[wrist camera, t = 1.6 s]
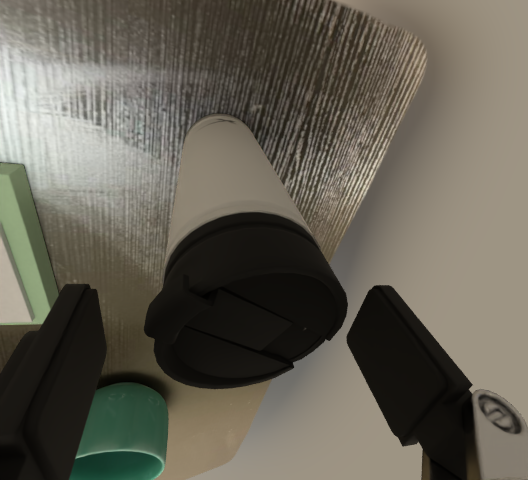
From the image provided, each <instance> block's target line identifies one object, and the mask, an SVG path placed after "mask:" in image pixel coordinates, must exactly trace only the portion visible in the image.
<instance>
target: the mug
mask: <svg viewBox="0 0 528 480" xmlns="http://www.w3.org/2000/svg"><path fill="white" fill-rule="evenodd" d="M167 439H168V409H167V405H166V403H165V401H164V399H163V397H162V396H161V395H160V394H159V393H158V392H156V391H155V390H153V389H151V388H149V387H147V386H144V385H142V384H139V383H134V382H122V383H116V384H112V385H109V386H106V387H103V388H100V389H98V390H96V391H95V395H94V398H93V401H92V405H91V408H90V411H89V415H88V418H87V421H86V425H85V428H84V431H83V435H82V438H81V441H80V445H79V448H78V452H77V455H76V458H75V462H74V465H73V468H72V472H71V475H70V478H69V480H154V479H155V478H157V477H158V476H159V475H160V474H161V473H162V471H163V470H164V468H165V462H166V451H167Z"/></svg>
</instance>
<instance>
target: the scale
mask: <svg viewBox="0 0 528 480" xmlns="http://www.w3.org/2000/svg"><path fill="white" fill-rule="evenodd" d="M58 296H59V293H58V289H57V285H56V282H55V278H54V274H53V271H52V267H51V263H50V260H49V256H48V253H47V249H46V245H45V242H44V238H43V234H42V231H41V227H40V223H39V220H38V216H37V213H36V209H35V205H34V202H33V198H32V194H31V191H30V187H29V184H28V180H27V176H26V173H25V169H24V166H23V165H19V164H8V163H0V325H19V324H43V322H44V321H45V319H46V317H47V315H48V313H49V312H50V310H51V308H52V306H53V305H54V303H55V301H56V299H57V297H58Z"/></svg>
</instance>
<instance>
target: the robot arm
mask: <svg viewBox="0 0 528 480" xmlns="http://www.w3.org/2000/svg"><path fill="white" fill-rule="evenodd" d="M347 344H348V346H349V348H350V350H351V352H352V354H353V356H354V358H355V360H356V362H357V364H358V366H359V368H360V370H361V372H362V374H363V376H364V378H365V380H366V382H367V384H368V386H369V388H370V390H371V392H372V393H373V396H374V397H375V399H376V401H377V403H378V405H379V407H380V409H381V411H382V413H383V415H384V417H385V419H386V421H387V423H388V425H389V427H390V429H391V431H392V432H393V434H394V435H395V436H397V437H398V438H399V440H400V442H401V444H402V446H408V445H414V444H417V443H418V442H419V443H420V445H421V446H422V448H423V456H422V479H421V480H528V427H527V425H526V422H525V420H524V419H523V417H522V416H521V414H520V413H519V412H518V411H517V410H516V409H515V407H514V406H513V405H512V404H510V403H509V402H508V401H507V400H505V399H504V398H502V397H501V396H499V395H498V394H496V393H493V392H491V391H489V390H484V389H479V390H476V391H475V392H474V393H473V394H472V393H471V392H470V391H469V388H470V387H471V386H472V383H471V382H470V381H469V380H468V378H467V377H466V376H465V375H464V374H463V372H462V371H461V370H460V369H459V368H458V366H457V365H456V364H455V363H454V362H453V360H452V359H451V358H450V357H449V355H448V354H447V353H446V352H445V350H444V349H443V348H442V347H441V346H440V345H439V343H438V342H437V341H436V339H435V338H434V337H433V336H432V335H431V333H430V332H429V331H428V330H427V329H426V327H425V326H424V325H423V324H422V322H421V321H420V320H419V319H418V318H417V317H416V315H415V314H414V313H413V311H412V310H411V309H410V308H409V307H408V305H407V304H406V303H405V302H404V301H403V299H402V298H401V297H400V296H399V294H398V293H397V292H396V291H395V290H394V288H392V287H391V286H389V285H376V286H374V287H373V288H372V289H371V290H369V291H368V294H367V295H366V298H365V299H364V302H363V304H362V306H361V308H360V310H359V312H358V314H357V316H356V318H355V320H354V322H353V324H352V326H351V328H350V331H349V332H348V334H347ZM106 351H107V346H106V340H105V334H104V328H103V322H102V317H101V311H100V305H99V299H98V293H97V290H96V289H91V288H90V285H89V284H66V285H65V286H64V287H63V289H62V290H61V292H60V294H59V296H58V297H57V299H56V301H55V303H54V305H53V306H52V308H51V310H50V312H49V313H48V315H47V317H46V319H45V321H44V322H43V324H42V326H41V328H40V329H39V331H29V332H28V333H26V334H25V335H24V336H23V338H22V339H21V340H20V342H19V344H18V345H17V347H16V349H15V350H14V352H13V354H12V355H11V357H10V359H9V360H8V362H7V364H6V365H5V367H4V368H3V370H2V372H1V373H0V480H69V478H70V475H71V472H72V468H73V465H74V462H75V458H76V455H77V452H78V448H79V445H80V441H81V438H82V435H83V431H84V428H85V425H86V421H87V418H88V415H89V411H90V408H91V405H92V401H93V398H94V395H95V391H96V388H97V384H98V381H99V378H100V374H101V371H102V368H103V364H104V361H105V357H106Z"/></svg>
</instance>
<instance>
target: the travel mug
mask: <svg viewBox="0 0 528 480" xmlns="http://www.w3.org/2000/svg"><path fill="white" fill-rule="evenodd" d="M347 307H348V303H347V297H346V293H345V291H344V290H343V288H342V286H341V285H340V283H339V281H338V279H337V278H336V276H335V274H334V272H333V271H332V269H331V267H330V266H329V264H328V262H327V261H326V259H325V257H324V255H323V254H322V252H321V249H320V246H319V244H318V242H317V241H316V239H315V237H314V235H313V234H312V232H311V231H310V229H309V227H308V225H307V224H306V222H305V220H304V219H303V217H302V215H301V214H300V212H299V210H298V209H297V207H296V205H295V204H294V202H293V200H292V199H291V197H290V195H289V194H288V192H287V190H286V189H285V187H284V185H283V184H282V182H281V180H280V179H279V177H278V175H277V174H276V172H275V170H274V169H273V167H272V165H271V164H270V162H269V160H268V159H267V157H266V155H265V154H264V152H263V150H262V149H261V147H260V145H259V144H258V142H257V140H256V138H255V137H254V135H253V133H252V132H251V130H250V129H249V128H248V126H247V125H246V124H245V123H244V122H242V121H241V120H240V119H238V118H236V117H234V116H231V115H227V114H218V113H216V114H211V115H207V116H205V117H202V118H201V119H199V120H198V121H196V122H195V123H194V124H193V125H192V126H191V127H190V129H189V131H188V132H187V134H186V137H185V140H184V145H183V151H182V157H181V164H180V170H179V176H178V182H177V189H176V195H175V201H174V207H173V214H172V220H171V226H170V232H169V239H168V245H167V251H166V259H165V264H164V271H163V288H162V291H161V292H160V293H159V294H158V295H157V296H156V298H155V299H154V300H153V301H152V302H151V304H150V305H149V308H148V311H147V314H146V320H145V326H144V332H145V334H146V335H147V336H148V337H151V338H154V339H155V342H154V354H155V357H156V361H157V363H158V365H159V366H160V367H161V369H162V370H163V371H164V373H166V374H167V375H168V376H170V377H171V378H172V379H174V380H176V381H178V382H181V383H183V384H185V385H189V386H194V387H198V388H208V389H227V388H236V387H243V386H248V385H252V384H256V383H260V382H263V381H267V380H270V379H273V378H275V377H277V376H279V375H281V374H283V373H285V372H287V371H289V370H291V369H293V368H294V365H293V362H295V361H297V360H300V359H302V358H304V357H305V356H307V355H308V354H310V353H311V352H313V351H314V350H315V349H316V348H317V347H319V346H320V345H321V344H322V343H323V342H324V341H325V339H326V340H328V341H330V340H331V339H332V338H333V336H334V335H335V334H336V333H337V332H338V330H339V329H340V328H341V327H342V325H343V322H344V320H345V317H346V314H347Z"/></svg>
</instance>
